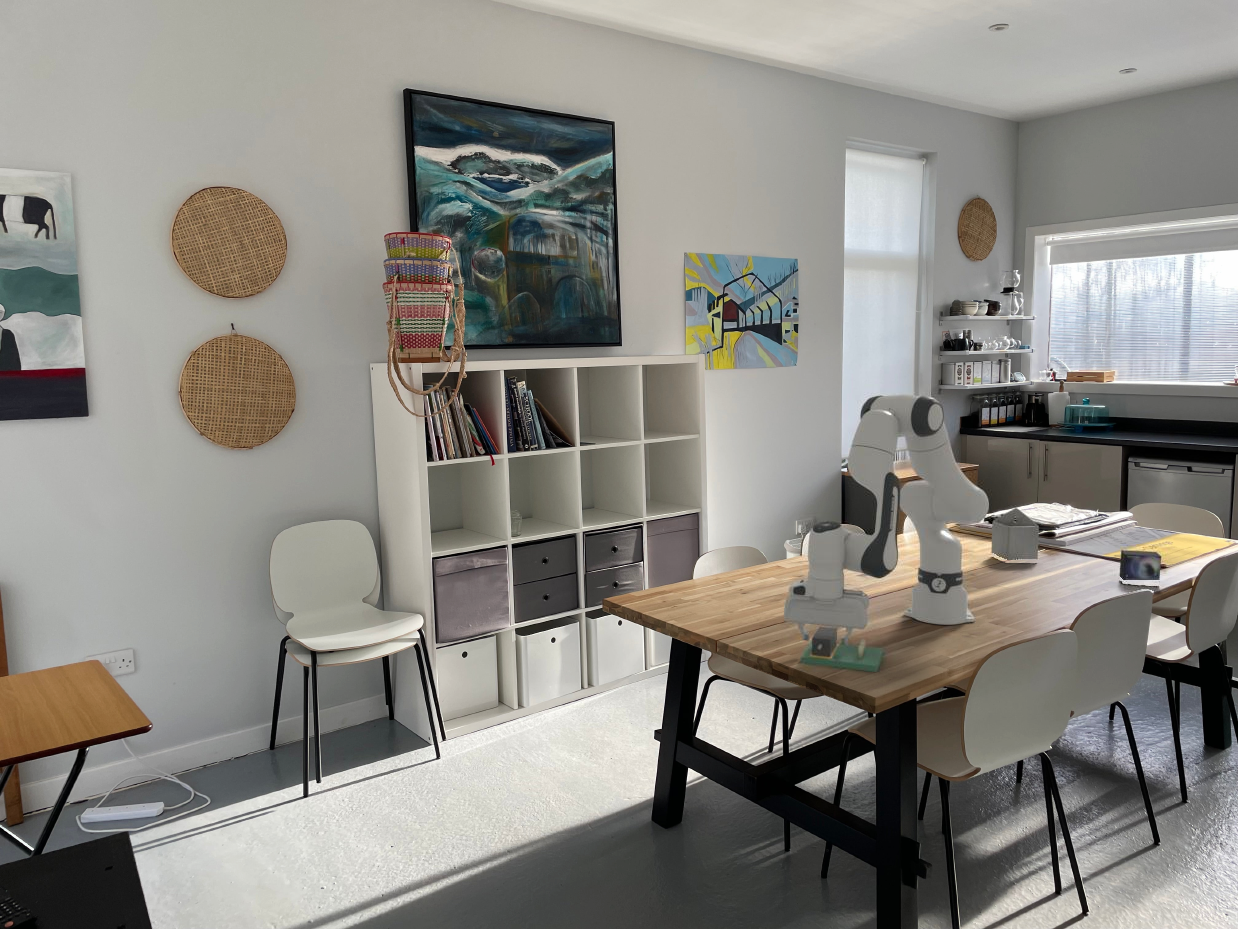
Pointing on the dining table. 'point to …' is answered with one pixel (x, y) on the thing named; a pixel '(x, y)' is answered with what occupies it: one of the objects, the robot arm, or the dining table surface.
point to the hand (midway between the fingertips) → (825, 642)
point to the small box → (1140, 565)
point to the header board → (847, 657)
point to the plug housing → (824, 641)
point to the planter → (1015, 536)
